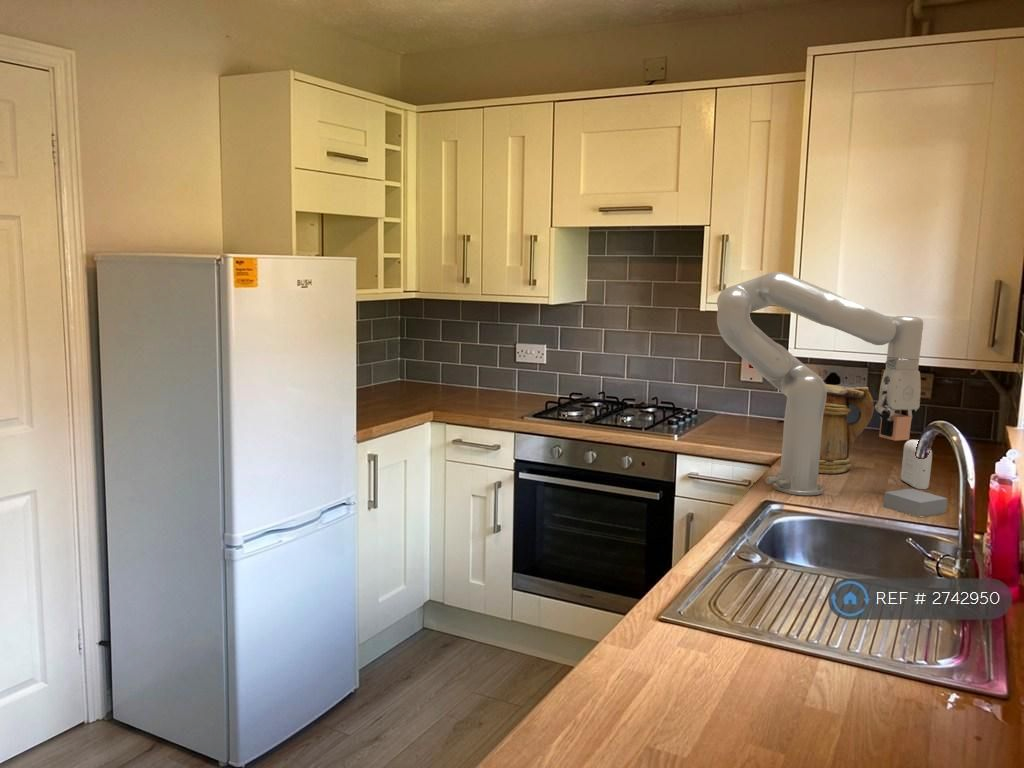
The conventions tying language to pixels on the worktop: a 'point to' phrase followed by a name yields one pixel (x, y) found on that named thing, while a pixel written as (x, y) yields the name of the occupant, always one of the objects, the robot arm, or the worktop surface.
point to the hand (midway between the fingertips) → (894, 434)
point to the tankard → (842, 426)
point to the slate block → (915, 502)
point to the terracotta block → (899, 427)
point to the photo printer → (915, 467)
